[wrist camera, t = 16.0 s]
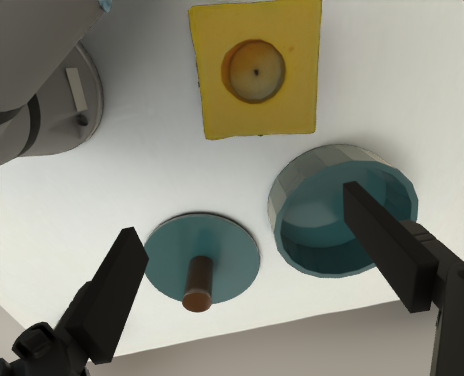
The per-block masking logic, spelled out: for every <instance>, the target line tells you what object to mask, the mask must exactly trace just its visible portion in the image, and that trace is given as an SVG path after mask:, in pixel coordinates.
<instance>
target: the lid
mask: <svg viewBox="0 0 464 376" xmlns="http://www.w3.org/2000/svg"><path fill="white" fill-rule="evenodd" d="M144 249H145V251H146V253H147V255H148V257H149V261H148V264H147V267H146V270H145V274H146V276H147V278H148V279H149V281H150V282H151V283H152V284H153V286H154V287H155V288H157V289H158V290H159V291H160V292H162V293H163V294H165V295H167V296H168V297H170V298H173V299H175V300H178V301H181V302H182V304H183V306H184V307H185V308H186V309H187V310H189V311H192V312H203V311H206V310H208V309H209V308H210V306H211V304H216V303H220V302H224V301H227V300H230V299H232V298H234V297H236V296H238V295H240V294H241V293H243V292H244V291H245V290H246V289H247V288H248V287H249V286H250V285H251V284H252V282H253V281H254V280H255V278H256V276H257V273H258V270H259V264H260V260H259V253H258V249H257V246H256V244H255V242H254V240H253V239H252V237H251V236H250V235H249V234H248V233H247V232H246V231H245V230H244V229H243V228H242V227H240V226H239V225H238V224H236V223H234V222H232V221H230V220H228V219H225V218H223V217H219V216H215V215H209V214H189V215H183V216H179V217H176V218H173V219H171V220H169V221H166V222H165V223H163V224H162V225H160V226H159V227H158V228H156V229H155V230H154V231H153V232H152V234H151V235H150V236H149V238H148V239H147V241H146V243H145V246H144Z"/></svg>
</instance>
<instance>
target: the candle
mask: <svg viewBox="0 0 464 376" xmlns="http://www.w3.org/2000/svg"><path fill="white" fill-rule="evenodd" d="M188 15H189V24H190V30H191V36H192V41H193V46H194V50H195V54H196V67H197V72H198V79H199V82H198V84H199V87H200V93H201V101H202V115H203V126H204V133H205V138H206V139H208V140H218V139H224V138H228V137H233V136H253V135H258V136H263V135H270V134H310V133H314V132H315V128H316V103H317V73H318V55H319V38H320V24H321V15H322V0H275V1H266V2H252V3H226V4H213V5H199V6H192V7H191V8H190V9H189V10H188Z"/></svg>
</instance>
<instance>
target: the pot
mask: <svg viewBox="0 0 464 376" xmlns="http://www.w3.org/2000/svg"><path fill="white" fill-rule="evenodd" d="M352 181H357V182H358V183H359V184H360V185H361V186H362V187H363V188H364V189H365V190H366V191H367V192H368V193H369V194H370V195H371V196H372V197H373V198H374V199H376V200H377V201H378V202H379V203H380V204H381V205H382V206H383V207H384V208H385V209H386V210H387V211H388V212H389V213H390V214H391V215H392V216H393V217H394V218H395V219H396V220H398V221H403V220H408V219H409V220H412V221H414V222H416V221H417V213H418V198H417V195H416V192H415V190H414V187H413V184H412V182H410V181H409V180H408V179H407V178H406V177H405V176H404V175H403V174H402V173H401V172H400V171H399V170H398V169H397V168H395V167H394V166H392V165H391V164H389V163H387V162H386V161H384V160H383V159H381V158H380V157H378V156H377V155H375V154H374V153H372V152H369V151H367V150H365V149H363V148H360V147H357V146H352V145H345V144H336V145H327V146H322V147H319V148H316V149H313V150H311V151H308V152H306V153H304V154H302V155H301V156H299V157H297V158H296V159H295V160H293V161H292V162H291V163H290V164H288V165H287V166H286V167H285V168H284V169H283V171H282V172H281V173H280V174H279V176H278V177H277V179H276V180H275V182H274V184H273V186H272V188H271V191H270V194H269V199H268V215H269V219H270V223H271V227H272V231H273V235H274V238H275V242H276V246H277V249H278V251H279V253H280V254H281V255H282V257H283V258H284V259H285V261H286V262H287V263H288V264H289V265H291V266H292V267H294V268H295V269H297V270H298V271H300V272H302V273H304V274H308V275H312V276H315V277H319V278H342V277H347V276H352V275H357V274H360V273H362V272H365V271H367V270H369V269H371V268H374V267H376V265H375V264H374V262H373V261H372V259H371V258H370V257H369V255H368V254H367V252H366V251H365V250H364V248H363V247H362V246H361V244H360V243H359V241H358V240H357V239H356V237H355V236H354V234H353V233H352V232H351V230H350V229H349V227H348V226H347V225H346V223H345V222H344V211H343V183H347V182H352Z"/></svg>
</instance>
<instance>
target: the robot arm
mask: <svg viewBox="0 0 464 376" xmlns="http://www.w3.org/2000/svg"><path fill="white" fill-rule="evenodd" d="M111 5H112V3H111V0H0V165H2V164H4V163H6V162H8V161H10V160H12V159H14V158H16V157H25V156H43V155H54V154H58V153H62V152H66V151H68V150H71V149H73V148H75V147H77V146H78V145H80V144H82V143H83V142H85V141H86V140H87V139H88V138H89V137H90V136H91V135H92V134H93V133H94V131H95V130H96V128H97V127H98V125H99V122H100V120H101V116H102V111H103V92H102V86H101V82H100V79H99V76H98V73H97V71H96V68H95V66H94V64H93V62H92V60H91V59H90V57H89V55H88V54H87V52H86V51H85V49H84V48H83V47H82V45H81V44H80V43H79V40H80V39H81V38H82V37H83V36H84V34H85V33H86V32H87V31H88V30H89V28H90V27H91V26H92V25H93V24H94V23H95V21H96V20H97V19H98V18H99V17H100V15H101V14H102V13H103V12H104V11H105V12H106V13H108V11H109V10H110V9H111ZM343 211H344V222H345V223H346V225H347V226H348V227H349V229H350V230H351V232H352V233H353V234H354V236H355V237H356V239H357V240H358V241H359V243H360V244H361V246H362V247H363V248H364V250H365V251H366V252H367V254H368V255H369V257H370V258H371V259H372V261H373V262H374V264H375V265H376V266H377V268H378V269H379V271H380V272H381V273H382V275H383V276H384V277H385V279H386V280H387V282H388V283H389V284H390V286H391V287H392V289H393V290H394V291H395V293H396V294H397V296H398V297H399V298H400V300H401V301H402V302H403V304H404V305H405V307H406V308H407V309H408V311H409V312H410V313H416V312H422V311H429V310H430V307H431V302H432V301H433V302H434V304H435V305H436V306H437V307H438V308H439V312H438V317H437V322H436V334H435V341H434V348H433V356H432V363H431V371H430V376H464V262H463V261H462V260H461V259H460V258H459V257H458V256H457V255H455V254H454V253H453V252H452V251H451V250H450V249H448V248H447V247H446V246H445V245H444V244H443V243H441V242H440V241H439V240H437V239H436V237H434V236H433V235H432V234H431V233H429V231H427V230H426V229H425V228H424V227H423V226H422V225H420V224H418V223H416V222H414V221H412V220H409V219H408V220H403V221H398V220H396V219H395V218H394V217H393V216H392V215H391V214H390V213H389V212H388V211H387V210H386V209H385V208H384V207H383V206H382V205H381V204H380V203H379V202H378V201H377V200H376V199H374V198H373V197H372V196H371V195H370V194H369V193H368V192H367V191H366V190H365V189H364V188H363V187H362V186H361V185H360V184H359V183H358V182H357V181H352V182H347V183H343ZM148 261H149V257H148V255H147V253H146V251H145V249H144V247H143V245H142V243H141V241H140V239H139V237H138V235H137V233H136V231H135V229H134V227H129V228H125V229H122V230H121V232H120V233H119V235H118V237H117V239H116V240H115V242H114V244H113V245H112V247H111V249H110V250H109V252H108V254H107V255H106V257H105V259H104V260H103V262H102V264H101V265H100V267H99V269H98V271H97V272H96V274H95V276H94V277H93V279H92V281H88V282H86V283H85V284H84V285H83V286H82V287H81V288H80V289H79V290H78V292H77V294H76V295H75V297H74V298H73V301H72V302H71V303H70V305H69V308H67V310H66V311H65V313H64V314H63V316H62V318H61V319H60V321H59V322H58V324H57V326H56V327H55V329H54V330H53V329H52V328H51V327H50V325H49V324H48V323H47V322H40V323H36V324H35V325H33V326H31V327H29V328H28V329H27V330H25V331H24V332H23V333H22V334H21V335H20V336H19V337H18V338H17V339H16V341H15V343H14V344H13V347H12V351H13V352H14V353H15V354H16V355H18V356H19V357H20V359H18V360H16V361H13V362H11V363H8V362H6V361H5V360H4V359H3V358H0V376H90V373H89V370H88V369H87V368H86V367H85V365H86V363H87V361H88V359H89V358H90V359H91V360H92V362H93V363H94V364H95V365H97V364H103V363H110V362H111V361H112V358H113V356H114V353H115V350H116V347H117V345H118V342H119V339H120V337H121V334H122V331H123V329H124V326H125V323H126V321H127V318H128V315H129V313H130V310H131V307H132V304H133V302H134V299H135V296H136V294H137V291H138V288H139V286H140V283H141V280H142V278H143V275H144V272H145V270H146V267H147V264H148Z"/></svg>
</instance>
